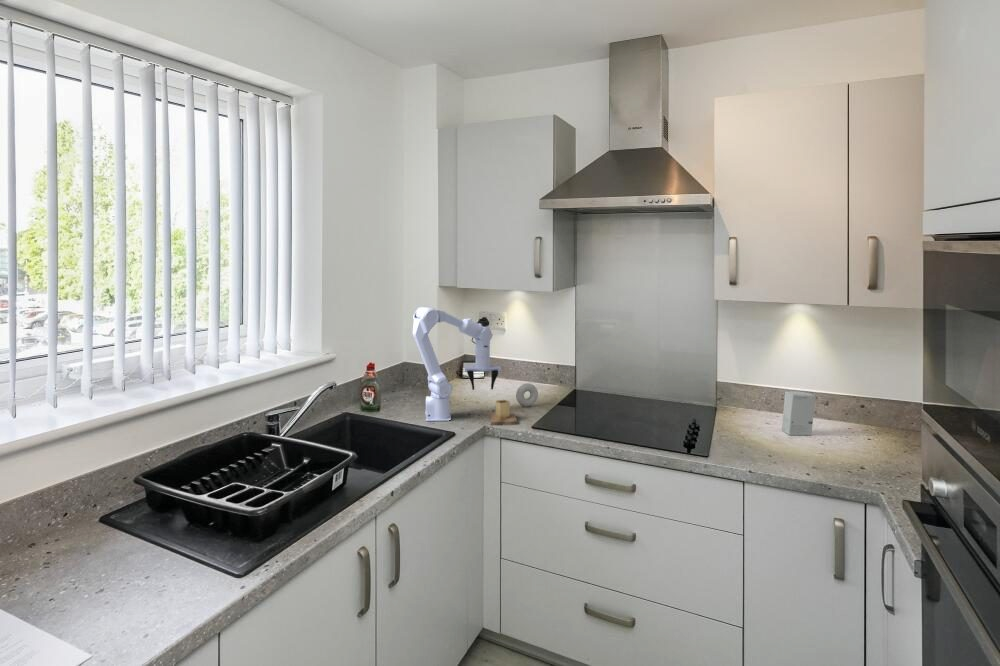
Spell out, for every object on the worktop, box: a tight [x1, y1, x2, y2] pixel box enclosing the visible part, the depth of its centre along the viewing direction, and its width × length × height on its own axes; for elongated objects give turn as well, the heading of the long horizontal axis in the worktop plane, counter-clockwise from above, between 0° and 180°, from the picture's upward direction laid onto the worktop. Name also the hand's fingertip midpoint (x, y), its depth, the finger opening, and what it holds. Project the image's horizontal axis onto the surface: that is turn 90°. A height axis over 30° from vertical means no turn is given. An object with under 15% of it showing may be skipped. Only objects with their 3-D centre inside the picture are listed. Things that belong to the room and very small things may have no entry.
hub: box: [495, 399, 511, 419], centre depth 216 cm, size 5×5×6 cm
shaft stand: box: [488, 411, 518, 426], centre depth 216 cm, size 10×13×6 cm
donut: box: [515, 382, 539, 407], centre depth 235 cm, size 10×4×10 cm, turn 113°
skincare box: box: [781, 390, 816, 436], centre depth 200 cm, size 8×6×15 cm
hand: (482, 389), depth 226 cm, fingers open, 7 cm apart
